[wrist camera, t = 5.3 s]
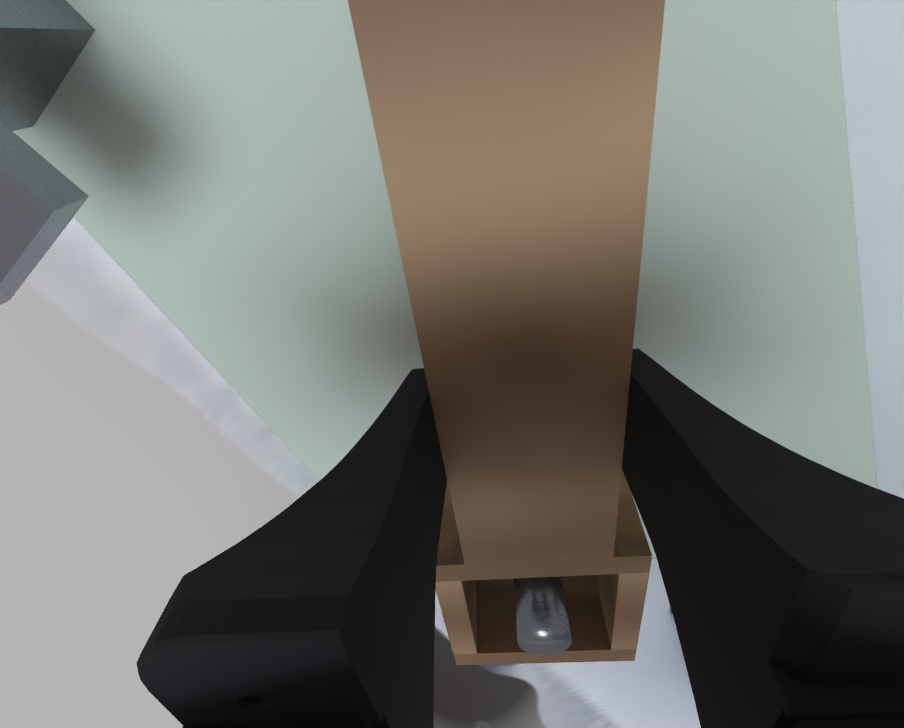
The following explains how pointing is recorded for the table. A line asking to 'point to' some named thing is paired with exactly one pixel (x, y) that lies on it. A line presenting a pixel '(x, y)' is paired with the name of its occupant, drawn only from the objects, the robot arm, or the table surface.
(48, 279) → the table surface
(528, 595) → the cylinder
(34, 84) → the keeper
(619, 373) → the link
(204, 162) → the board
